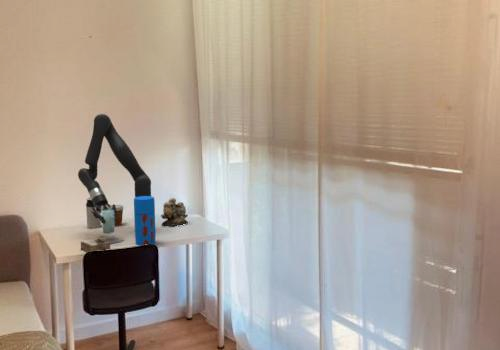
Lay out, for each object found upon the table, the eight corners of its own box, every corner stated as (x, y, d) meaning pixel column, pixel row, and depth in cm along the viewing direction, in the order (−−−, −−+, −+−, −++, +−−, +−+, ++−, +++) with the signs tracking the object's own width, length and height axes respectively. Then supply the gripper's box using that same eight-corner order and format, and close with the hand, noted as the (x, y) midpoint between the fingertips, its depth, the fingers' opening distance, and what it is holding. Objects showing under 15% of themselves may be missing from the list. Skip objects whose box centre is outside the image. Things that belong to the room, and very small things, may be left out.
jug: (110, 229, 269) (110, 208, 267) (118, 232, 263) (118, 211, 261) (100, 231, 264) (100, 210, 263) (108, 234, 259) (108, 213, 257)
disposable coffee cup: (119, 227, 296) (119, 208, 294) (105, 226, 298) (104, 207, 296) (126, 223, 305) (126, 205, 304) (113, 222, 307) (112, 204, 306)
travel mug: (100, 228, 294) (98, 199, 292) (86, 228, 293) (85, 199, 290) (101, 224, 302) (100, 196, 299) (88, 225, 300) (86, 197, 298)
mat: (113, 237, 273) (113, 236, 273) (123, 241, 266) (123, 240, 265) (95, 241, 265) (95, 240, 265) (105, 245, 258) (105, 244, 258)
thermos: (137, 240, 267) (135, 196, 264) (156, 239, 268) (155, 195, 265) (134, 246, 256) (132, 199, 253) (154, 245, 257) (153, 199, 254)
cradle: (99, 245, 258) (98, 238, 257) (110, 249, 250) (109, 242, 250) (80, 249, 250) (80, 241, 250) (91, 253, 243) (91, 246, 242)
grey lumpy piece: (165, 228, 293) (164, 201, 291) (157, 225, 302) (156, 198, 300) (191, 224, 304) (190, 197, 301) (182, 220, 313) (181, 195, 311)
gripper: (88, 195, 262) (100, 220, 255) (112, 192, 272) (124, 216, 266) (84, 203, 266) (95, 228, 260) (107, 200, 276) (119, 223, 270)
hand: (109, 222), depth 263 cm, fingers closed on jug, 6 cm apart
